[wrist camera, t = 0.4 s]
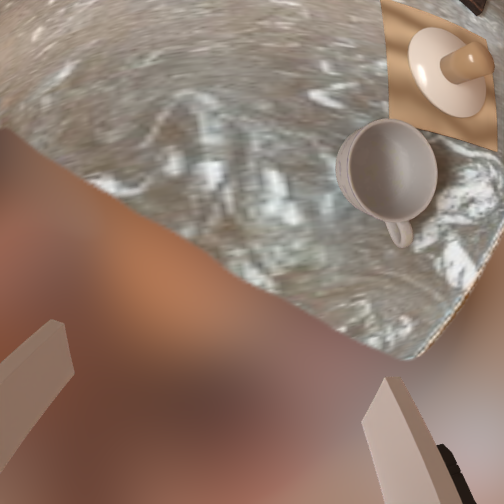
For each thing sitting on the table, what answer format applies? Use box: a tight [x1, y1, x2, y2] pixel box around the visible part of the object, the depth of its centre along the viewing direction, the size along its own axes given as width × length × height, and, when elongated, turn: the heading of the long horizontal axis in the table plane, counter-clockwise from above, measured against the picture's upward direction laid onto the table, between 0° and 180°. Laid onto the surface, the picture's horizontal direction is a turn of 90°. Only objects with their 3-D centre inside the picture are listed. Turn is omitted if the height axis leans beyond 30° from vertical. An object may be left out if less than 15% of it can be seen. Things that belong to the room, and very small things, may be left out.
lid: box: [407, 27, 495, 118], centre depth 24 cm, size 14×14×8 cm
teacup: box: [336, 118, 438, 248], centre depth 30 cm, size 14×11×8 cm
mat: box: [380, 0, 497, 152], centre depth 28 cm, size 20×20×1 cm
